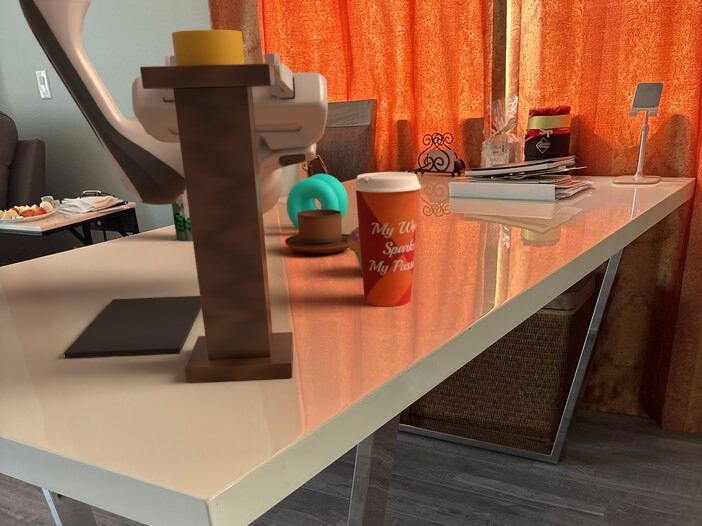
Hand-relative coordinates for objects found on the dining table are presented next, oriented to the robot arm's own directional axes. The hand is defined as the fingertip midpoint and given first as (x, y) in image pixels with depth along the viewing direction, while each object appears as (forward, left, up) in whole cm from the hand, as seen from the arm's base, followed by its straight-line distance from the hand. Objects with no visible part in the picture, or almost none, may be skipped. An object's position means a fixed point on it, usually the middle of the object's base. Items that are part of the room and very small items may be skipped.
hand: (222, 61), depth 68 cm
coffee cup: (+17, +12, -27) cm, 34 cm away
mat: (-13, +5, -27) cm, 30 cm away
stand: (0, -10, -27) cm, 29 cm away
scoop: (0, -5, -1) cm, 5 cm away
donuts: (+9, +65, -27) cm, 71 cm away
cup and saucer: (+9, +46, -27) cm, 54 cm away
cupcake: (+17, +28, -27) cm, 42 cm away
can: (-15, +63, -27) cm, 70 cm away
